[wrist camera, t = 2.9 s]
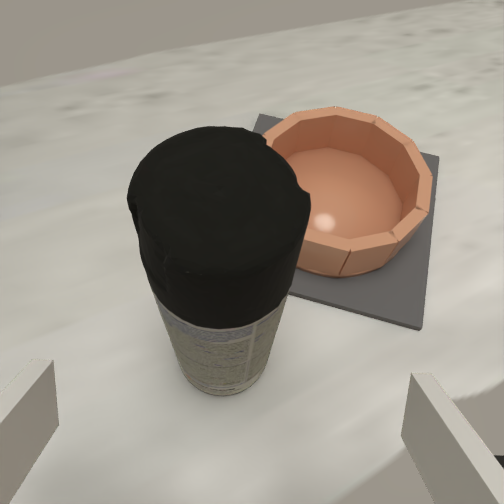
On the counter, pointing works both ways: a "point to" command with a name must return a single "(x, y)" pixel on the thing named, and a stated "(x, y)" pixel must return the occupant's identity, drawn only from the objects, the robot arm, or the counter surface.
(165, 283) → the spray can
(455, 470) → the robot arm
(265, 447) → the counter surface
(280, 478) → the counter surface
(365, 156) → the bowl
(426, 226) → the mat
